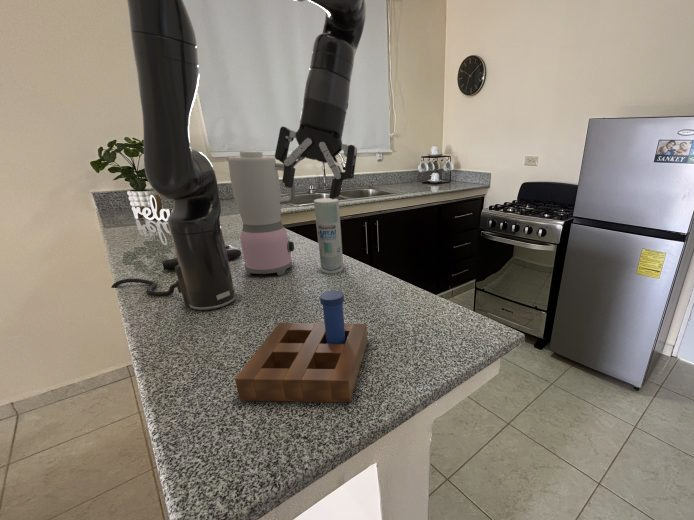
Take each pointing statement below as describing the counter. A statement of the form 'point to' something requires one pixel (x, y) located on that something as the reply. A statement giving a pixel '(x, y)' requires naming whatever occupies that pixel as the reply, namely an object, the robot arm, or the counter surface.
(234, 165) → the blender
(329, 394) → the holder
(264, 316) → the counter surface
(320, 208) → the spray can
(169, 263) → the door handle
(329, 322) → the blue peg
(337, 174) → the robot arm
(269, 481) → the counter surface
